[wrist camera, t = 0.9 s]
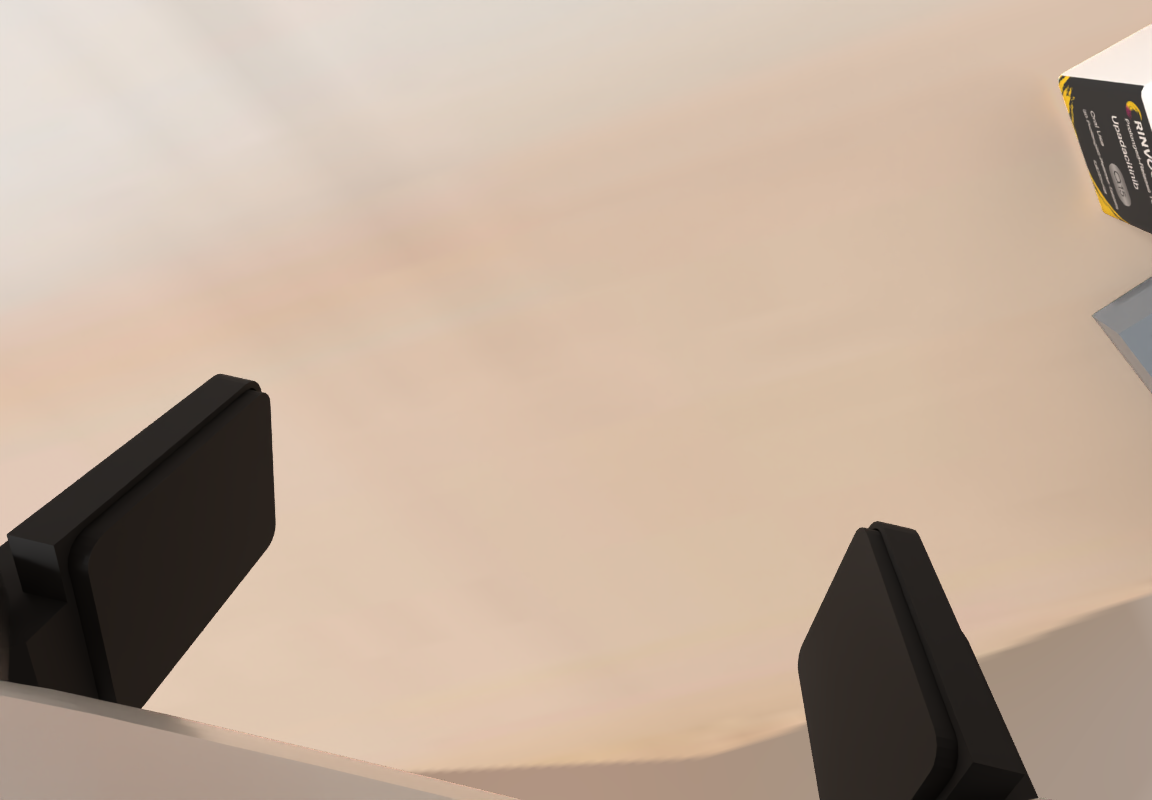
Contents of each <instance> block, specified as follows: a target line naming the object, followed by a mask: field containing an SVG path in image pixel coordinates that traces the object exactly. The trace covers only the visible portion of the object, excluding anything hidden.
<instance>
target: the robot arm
mask: <svg viewBox="0 0 1152 800" xmlns="http://www.w3.org/2000/svg"><path fill="white" fill-rule="evenodd" d="M275 525H276V522H275V499H274V476H273V453H272V430H271V407H270V398H269V396H268V395H267V394H266V393H263V392H261V388H260V386H259V384H258V383H257V382H255V381H251V380H247V379H242V378H238V377H233V376H229V375H224V374H217V375H215V376H213V377H212V378H211V379H209V380H208V381H207V382H206V383H204V384H203V385H202V386H200V387H199V388H198V389H196V390H195V391H194V392H192V393H191V394H190V395H188V396H187V397H186V398H185V399H183V400H182V401H181V402H179V403H178V404H177V405H175V406H174V407H173V408H171V409H170V410H169V411H168V412H166V413H165V414H164V415H162V416H161V417H160V418H158V419H157V420H156V421H154V422H153V423H152V424H151V425H149V426H148V427H147V428H145V429H144V430H143V431H141V432H140V433H139V434H137V435H136V436H135V437H134V438H132V439H131V440H130V441H128V442H127V443H126V444H124V445H123V446H122V447H120V448H119V449H118V450H117V451H115V452H114V453H113V454H111V455H110V456H109V457H107V458H106V459H105V460H103V461H102V462H101V463H100V464H98V465H97V466H96V467H94V468H93V469H92V470H90V471H89V472H88V473H86V474H85V475H84V476H82V477H81V478H80V479H79V480H77V481H76V482H75V483H73V484H72V485H71V486H69V487H68V488H67V489H65V490H64V491H63V492H62V493H60V494H59V495H58V496H56V497H55V498H54V499H52V500H51V501H50V502H48V503H47V504H46V505H45V506H43V507H42V508H41V509H39V510H38V511H37V512H35V513H34V514H33V515H31V516H30V517H29V518H28V519H26V520H25V521H24V522H22V523H21V524H20V525H18V526H17V527H16V528H14V529H13V530H12V531H11V532H9V533H8V534H7V538H8V541H7V542H5V543H4V544H3V545H2V546H0V800H521V799H517V798H513V797H509V796H505V795H501V794H497V793H492V792H489V791H485V790H480V789H476V788H472V787H468V786H464V785H460V784H456V783H452V782H447V781H443V780H439V779H435V778H431V777H427V776H422V775H419V774H414V773H410V772H406V771H402V770H398V769H394V768H390V767H386V766H381V765H377V764H373V763H369V762H365V761H361V760H357V759H352V758H348V757H344V756H340V755H336V754H332V753H327V752H323V751H319V750H315V749H310V748H306V747H302V746H298V745H294V744H289V743H285V742H281V741H277V740H272V739H268V738H264V737H260V736H256V735H251V734H247V733H243V732H239V731H234V730H230V729H226V728H222V727H218V726H213V725H209V724H205V723H201V722H196V721H192V720H188V719H184V718H180V717H175V716H171V715H167V714H162V713H158V712H153V711H149V710H144V709H141V708H142V707H143V706H144V705H145V703H146V702H147V701H148V699H149V698H150V697H151V696H152V694H153V693H154V692H155V691H156V689H157V688H158V687H159V685H160V684H161V683H162V682H163V680H164V679H165V678H166V677H167V675H168V674H169V673H170V671H171V670H172V669H173V668H174V666H175V665H176V664H177V663H178V661H179V660H180V659H181V657H182V656H183V655H184V654H185V652H186V651H187V650H188V649H189V647H190V646H191V645H192V643H193V642H194V641H195V640H196V638H197V637H198V636H199V635H200V633H201V632H202V631H203V630H204V628H205V627H206V626H207V624H208V623H209V622H210V621H211V619H212V618H213V617H214V616H215V614H216V613H217V612H218V610H219V609H220V608H221V607H222V605H223V604H224V603H225V602H226V600H227V599H228V598H229V596H230V595H231V594H232V593H233V591H234V590H235V589H236V588H237V586H238V585H239V584H240V582H241V581H242V580H243V579H244V577H245V576H246V575H247V574H248V572H249V571H250V570H251V568H252V567H253V566H254V565H255V563H256V562H257V561H258V560H259V558H260V557H261V556H262V555H263V553H264V552H265V551H266V549H267V548H268V547H269V545H270V543H271V541H272V539H273V536H274V532H275ZM798 673H799V679H800V685H801V691H802V697H803V702H804V708H805V714H806V720H807V726H808V732H809V738H810V743H811V750H812V756H813V762H814V768H815V773H816V779H817V786H818V791H819V798H820V800H1051V799H1044V798H1038V796H1037V794H1036V791H1035V789H1034V787H1033V785H1032V782H1031V780H1030V778H1029V776H1028V774H1027V771H1026V769H1025V767H1024V765H1023V763H1022V760H1021V758H1020V756H1019V753H1018V751H1017V749H1016V747H1015V745H1014V742H1013V740H1012V738H1011V736H1010V733H1009V731H1008V729H1007V727H1006V724H1005V722H1004V720H1003V718H1002V715H1001V713H1000V711H999V709H998V707H997V704H996V702H995V700H994V698H993V695H992V693H991V691H990V689H989V687H988V684H987V682H986V680H985V677H984V675H983V673H982V671H981V669H980V666H979V664H978V662H977V660H976V657H975V655H974V653H973V651H972V648H971V646H970V644H969V642H968V640H967V638H966V637H965V635H964V634H963V632H962V631H961V629H960V626H959V624H958V622H957V620H956V617H955V615H954V613H953V611H952V608H951V606H950V604H949V602H948V599H947V597H946V595H945V593H944V590H943V588H942V586H941V584H940V581H939V579H938V577H937V575H936V572H935V570H934V568H933V566H932V563H931V561H930V559H929V557H928V554H927V552H926V550H925V548H924V545H923V543H922V541H921V539H920V536H919V535H918V533H917V532H916V531H915V530H913V529H910V528H906V527H901V526H897V525H892V524H888V523H884V522H879V521H876V522H873V523H872V524H871V525H870V527H869V528H868V529H867V528H863V527H862V528H859V529H858V530H857V531H856V533H855V535H854V537H853V539H852V541H851V543H850V545H849V547H848V549H847V552H846V554H845V556H844V558H843V560H842V562H841V564H840V566H839V568H838V570H837V573H836V575H835V577H834V579H833V581H832V583H831V585H830V587H829V589H828V592H827V594H826V596H825V598H824V600H823V602H822V604H821V606H820V608H819V611H818V613H817V615H816V617H815V619H814V621H813V623H812V625H811V627H810V629H809V632H808V634H807V636H806V638H805V640H804V642H803V644H802V647H801V649H800V653H799V659H798Z"/></svg>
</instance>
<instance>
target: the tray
mask: <svg viewBox="0 0 1152 800" xmlns="http://www.w3.org/2000/svg"><path fill="white" fill-rule="evenodd" d="M1092 316H1093V318H1094V319H1095V320H1096V321H1097V323H1098V324H1099V325H1100V327H1101V328H1102V329H1103V331H1104V332H1105V333H1106V335H1107V336H1108V337H1109V338H1110V340H1111V341H1112V342H1113V344H1114V345H1115V346H1116V348H1117V349H1118V350H1119V351H1120V353H1121V354H1122V355H1123V357H1124V358H1125V359H1126V361H1127V362H1128V363H1129V365H1130V366H1131V367H1132V368H1133V370H1134V371H1135V372H1136V374H1137V375H1138V376H1139V378H1140V379H1141V380H1142V381H1143V383H1144V384H1145V385H1146V387H1147V388H1148V389H1149V391H1150V392H1151V393H1152V277H1150V278H1149V279H1147V280H1146V281H1144V282H1143V283H1141V284H1140V285H1138V286H1137V287H1135V288H1133V289H1132V290H1130V291H1129V292H1127V293H1126V294H1124V295H1123V296H1121V297H1119V298H1118V299H1116V300H1115V301H1113V302H1112V303H1110V304H1109V305H1107V306H1106V307H1104V308H1102V309H1101V310H1099V311H1098V312H1096V313H1095V314H1093V315H1092Z"/></svg>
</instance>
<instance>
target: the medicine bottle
mask: <svg viewBox="0 0 1152 800" xmlns="http://www.w3.org/2000/svg"><path fill="white" fill-rule="evenodd" d="M1058 85H1059V88H1060V91H1061V94H1062V97H1063V100H1064V103H1065V106H1066V108H1067V111H1068V114H1069V117H1070V120H1071V123H1072V126H1073V128H1074V131H1075V134H1076V137H1077V140H1078V143H1079V146H1080V149H1081V151H1082V154H1083V157H1084V160H1085V163H1086V166H1087V169H1088V171H1089V174H1090V177H1091V180H1092V183H1093V186H1094V189H1095V192H1096V194H1097V197H1098V200H1099V203H1100V206H1101V209H1102V210H1103V212H1104V213H1106V214H1108V215H1110V216H1112V217H1115V218H1117V219H1119V220H1122V221H1124V222H1126V223H1128V224H1131V225H1133V226H1135V227H1138V228H1140V229H1142V230H1144V231H1147V232H1149V233H1151V234H1152V24H1150V25H1148V26H1146V27H1145V28H1143V29H1141V30H1139V31H1137V32H1136V33H1134V34H1132V35H1130V36H1128V37H1126V38H1125V39H1123V40H1121V41H1119V42H1117V43H1116V44H1114V45H1112V46H1110V47H1108V48H1107V49H1105V50H1103V51H1101V52H1099V53H1098V54H1096V55H1094V56H1092V57H1090V58H1089V59H1087V60H1085V61H1083V62H1081V63H1080V64H1078V65H1076V66H1074V67H1072V68H1071V69H1069V70H1067V71H1065V72H1063V73H1062V74H1061V75H1060V76H1059V78H1058Z"/></svg>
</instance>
